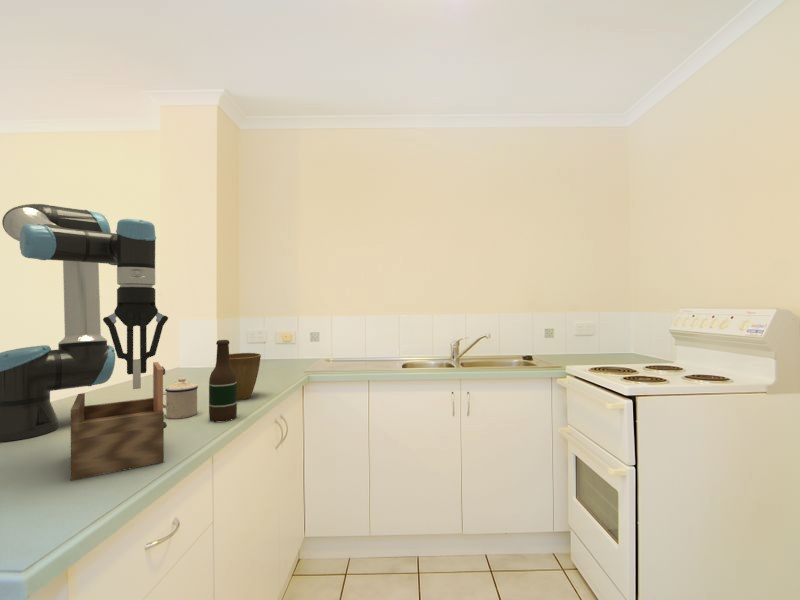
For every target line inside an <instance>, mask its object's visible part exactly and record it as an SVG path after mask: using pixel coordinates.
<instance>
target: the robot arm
mask: <svg viewBox="0 0 800 600" xmlns="http://www.w3.org/2000/svg"><path fill="white" fill-rule="evenodd" d="M1 224H2V227H3V229H4V232H5V233H6V234H7V235H8V236H9V237H10V238H12V239H14V240H15V241H17V242H19V250H20V254H21V256H22V257H24V258H26V259H35V260H40V261H62V267H63V269H62V270H63V271H62V272H63V273H62V275H63V276H62V277H63V312H64V314H63V315H64V338H63V339H61V340H60V341H59V342H58V345H57V346H58V349H52V347H50V345H48V344H47V345H46V344H43V345H35V346H27V347H20V348H15V349H10V350H5V351H2V352H0V442H1V443H2V442H10V441H17V440H23V439H29V438H34V437H37V436H42V435H46V434H49V433H51V432H53V431H55V430H58V428H59V419H58V417H57V414H56V412H55V409H54V407H53V405H52V403H51V392H52V391H53V392H54V391H59V390H60V391H61V390H68V389H69V390H70V389H74V388H83V387H84V388H85V387H92V386H96V385H102V384H105V383H107V382H108V381H109V380H110V378H112V375H113V373H114V369H115V365H116V356H117V358H118V359H123V360H125V361H126V373H127V375H132V390H138V389H141V388H142V385H141V384H142V379H141V378H142V377H141V375H142V374H146V372H147V368H148V367H147V360H148V359H149V358H152V357H155V355H156V353H157V349H158V346H159V342H160V338H161V336H162V332H163V329H164V328H163V327H164V325H165V324H166V323H167V322H168V320H169V317H168V316H167V315H164V314H162V313H161V312H159V309H158V307H157V306H156V289H155V287H153V286H155V285H156V240H157V237H156V228H155V224H154V223H152V222H150V221H148V220H144V219H138V218H136V219H135V218H123V219H119V220H118V221H117V223H116V224H117V225H116V230H115V233H113V232H111V227H110V223H109V220H108V219H107V218H106V216H105V215H104V214H102V213H100V212H96V211H91V210H88V209H79V208H73V207H72V208H71V207H65V206H64V207H62V206H58V205H57V206H56V205H49V204H44V203H30V204H29V203H28V204H22V205H18V206H14V207H12V208H10V209H8V211H6V212H5V213H4V215H3V217H2V222H1ZM99 264H107V265H109V266H116V284H117V285H119V286H118V288H116V307H115V309H114V312H113V313H111V314H110V315H108V316H105V317H103V318H102V321H103V323H104V324H106V326H107V328H108V330H109V333H110V337H111V339H112V343H113V344H112V345H113V346H112V345H109V344H108V340H107V339H106V338H105V337H104V336H102V332H101V331H102V330H101V329H102V328H101V302H100V301H101V300H100V297H101V296H100V275H99V274H100V270H99V267H100V266H99ZM155 317H156V318H155ZM117 318H118V319H119V320H120V321H121V323H122V324H123V325H124V326H126V352H124V350H123V347H122V343H121V340H120V337H119V334H118V331H117V327H116V325H115V324H116V323H117ZM154 318H155V321H156V326H155V330H154V334H153V337H152V341H151V345H150V347H149V351H147V328H148V327H147V326H148V325H149V324H150V323H152V321H153V320H154ZM134 327H139V358H138V359H137V358H136V359H134Z"/></svg>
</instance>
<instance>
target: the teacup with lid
mask: <svg viewBox="0 0 800 600" xmlns="http://www.w3.org/2000/svg"><path fill="white" fill-rule="evenodd" d="M186 379H187V378H185V377H179V378H178V380H177V381H175V382H174V383H173V384H171V385H168V386H166V388H165V392H164V391H163V396H164V395H165V396H166V397H165V400H166V402H165V403H166V404H163V409H165V410H166V411H165V412H166V418H167V419H186V418H190V417H193V416H195V415H197V414H198V388H199V386H198V384H197V383H193V382H191V381H188V380H186Z"/></svg>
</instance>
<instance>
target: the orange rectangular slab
mask: <svg viewBox="0 0 800 600" xmlns="http://www.w3.org/2000/svg"><path fill="white" fill-rule="evenodd" d="M152 365H153V366H152V367H153V368H152V374H153V375H152V378H153V380H152V390H153V391H152V398H153V410H154V412H160V411H163V412H164V408H163V405H164V395H163V392H164V375H166V369H165V367H164V366H161V365H160V363H159V361H153V362H152Z"/></svg>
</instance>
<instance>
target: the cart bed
mask: <svg viewBox="0 0 800 600" xmlns="http://www.w3.org/2000/svg"><path fill="white" fill-rule="evenodd" d="M85 394H86V393H83V392H81V393H77V396H76V398H75V400H74V402H73V404H72V405H71V409H70V481H75V480H81V479H85V478H90V476H91V477H95V476H94V475H96V476H100V475H99V474H101V475H104V474H103V473H106V474H110V473H109V472H111V473H115V472H114V471H116V472H120V471H119V470H121V471H125V470H124V469H127V470H130V469H129V468H132V469H136V468H135V467H137V468H140V466H142V467H145V465H147V466H150V464H152V465H155V464H154V463H157V464H161V463H160V462H162V463H164V462H165V460H164V458H165V457H164V455H165V450H164V449H165V447H164V445H165V442H164V441H165V439H164V438H165V437H164V436H165V435H164V434H165V433H164V431H165V429H166V428H167V426H168V425H167V423H166V422H165V419H164V415H165V413H164V410H163V411H160V412H154V410H153V397H149V398H140V399H132V400H124V401H115V402H105V403H99V404H98V403H97V404H89V405H86V403H85V401H86V399H85V398H86V396H85Z"/></svg>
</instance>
